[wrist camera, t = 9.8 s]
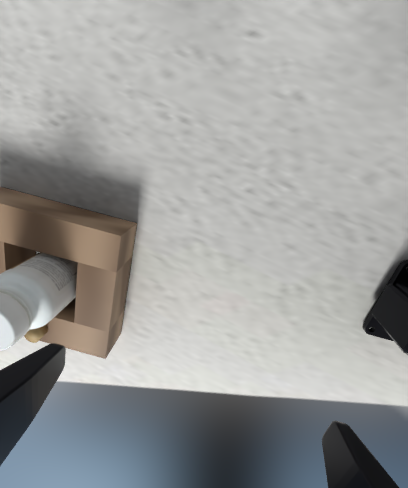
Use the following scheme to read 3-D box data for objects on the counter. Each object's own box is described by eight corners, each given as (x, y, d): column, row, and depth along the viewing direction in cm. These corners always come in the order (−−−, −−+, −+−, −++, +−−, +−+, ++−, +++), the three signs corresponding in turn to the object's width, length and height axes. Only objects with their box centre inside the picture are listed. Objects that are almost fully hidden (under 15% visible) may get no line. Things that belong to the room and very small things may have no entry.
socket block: (137, 223, 19) (114, 241, 16) (120, 333, 23) (99, 368, 20) (0, 186, 19) (-56, 195, 16) (7, 302, 23) (-36, 331, 20)
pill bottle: (42, 238, 21) (-61, 287, 13) (93, 249, 20) (17, 304, 13) (45, 283, 22) (-45, 349, 15) (93, 294, 22) (25, 365, 15)
